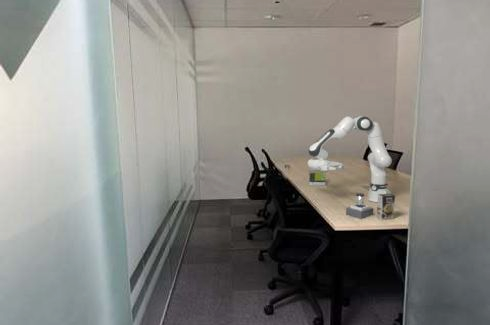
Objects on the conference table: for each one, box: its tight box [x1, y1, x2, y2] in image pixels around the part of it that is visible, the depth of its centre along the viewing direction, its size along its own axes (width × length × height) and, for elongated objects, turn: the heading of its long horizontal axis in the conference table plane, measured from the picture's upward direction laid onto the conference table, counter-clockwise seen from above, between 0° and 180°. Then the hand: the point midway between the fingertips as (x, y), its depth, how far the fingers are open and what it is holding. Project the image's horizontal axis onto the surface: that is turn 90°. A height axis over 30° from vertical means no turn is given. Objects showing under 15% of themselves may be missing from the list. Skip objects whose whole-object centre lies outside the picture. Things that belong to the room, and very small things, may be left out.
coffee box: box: [376, 193, 396, 221], centre depth 225 cm, size 9×6×16 cm
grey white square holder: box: [345, 203, 374, 220], centre depth 234 cm, size 14×12×6 cm
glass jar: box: [355, 192, 365, 208], centre depth 233 cm, size 5×5×10 cm
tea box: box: [308, 169, 326, 186], centre depth 334 cm, size 15×10×15 cm, turn 84°
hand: (340, 168), depth 249 cm, fingers open, 8 cm apart
